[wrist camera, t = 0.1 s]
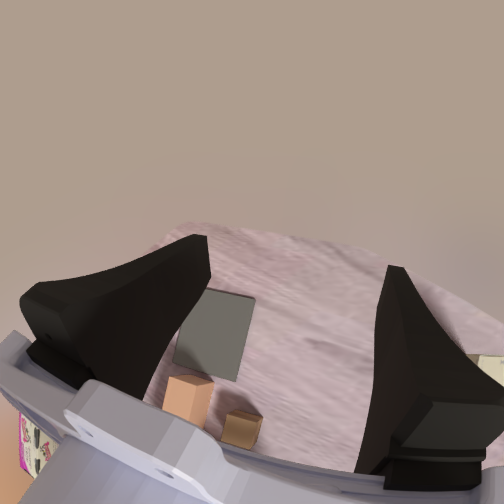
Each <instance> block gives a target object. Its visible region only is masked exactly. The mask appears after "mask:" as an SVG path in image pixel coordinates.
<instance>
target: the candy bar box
mask: <svg viewBox="0 0 504 504" xmlns="http://www.w3.org/2000/svg"><path fill="white" fill-rule="evenodd" d="M58 446H59V445H58V444H57V443H56V442H54V441H53V440H52V439H51V438H49V437H48V436H47V435H46V434H45V433H43V432H42V431H41V430H40V429H39V428H37V427H36V426H35V425H34V424H33V423H32V422H30V421H29V420H28V419H27V418H26V417H25V416H24V415H23V414H21V413H20V412H19V455H20V467H21V468H22V469H24V470H25V471H26V472H27V473H28V474H29V475H31V476H32V477H33V478H34V479H35V478H36V477H37V475H38V474H39V473H40V471H41V470H42V468H43V467H44V466H45V464H46V463H47V461H48V460H49V459H50V457H51V456H52V454H53V453H54V452H55V450H56V449H57V448H58Z"/></svg>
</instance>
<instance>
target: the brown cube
mask: <svg viewBox="0 0 504 504" xmlns="http://www.w3.org/2000/svg"><path fill="white" fill-rule="evenodd" d="M262 420H263V417H261V416H257V415H253V414H250V413H246V412H243V411H239V410H234V411H232V412H230V413H229V414H227V417H226V421H225V425H224V429H223V433H222V437H221V440H220V441H223V442H226V443H229V444H232V445H235V446H239V447H242V448H245V449H249V450H250V448H251V447H252V446H253V445H254V444H255V443H256V442H257V438H258V434H259V431H260V427H261V423H262Z"/></svg>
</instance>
